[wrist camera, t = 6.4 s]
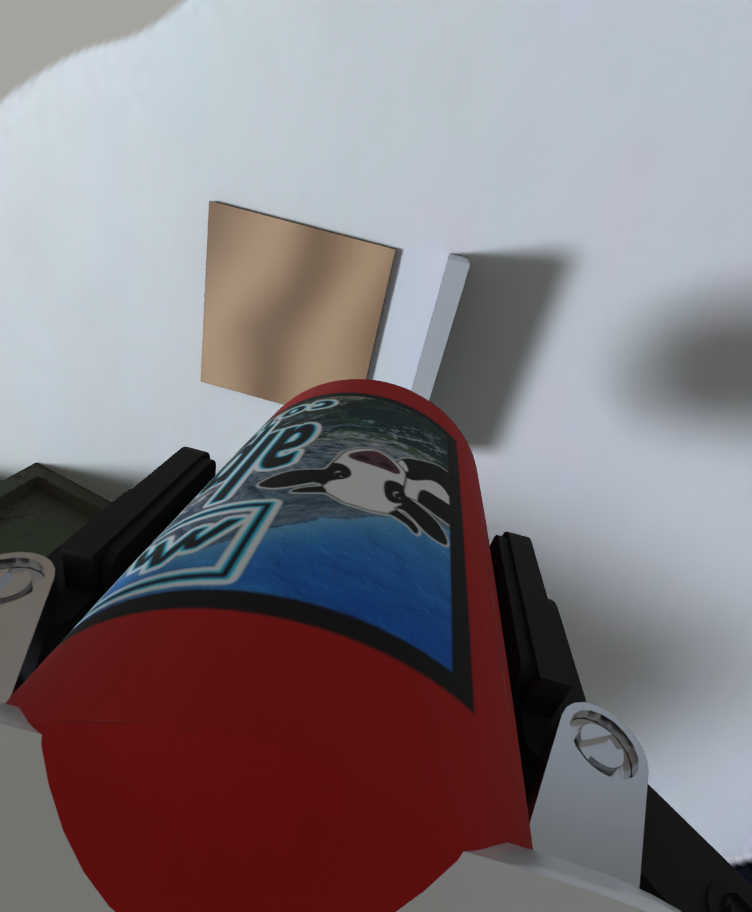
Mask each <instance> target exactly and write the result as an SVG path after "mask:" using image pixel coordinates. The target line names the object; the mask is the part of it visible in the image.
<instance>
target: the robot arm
mask: <svg viewBox="0 0 752 912" xmlns="http://www.w3.org/2000/svg"><path fill="white" fill-rule="evenodd" d="M215 471H216V463H215V461H214V460H211V459H210V455H209V453H208V452H204V451H201V450H197V449H193V448H189V447H183V448H181V449H180V450H179V451H177V452H176V453H175V454H174V455H173V456H171V457H170V458H169V459H168V460H167V461H165V462H164V463H163V464H162V465H161V466H159V467H158V468H157V469H156V470H154V471H153V472H152V473H151V474H150V475H148V476H147V477H146V478H145V479H144V480H142V481H141V482H140V483H139V484H138V485H136V486H135V487H134V488H133V489H130V490H128V491H127V492H125V493H124V494H122V495H121V496H120V497H119V498H118V499H116V500H115V501H114V502H113V503H111V504H110V505H109V506H108V507H107V508H105V509H104V510H103V511H102V512H100V513H99V514H98V515H97V516H96V517H94V518H93V519H92V520H91V521H89V522H88V523H87V524H86V525H85V526H83V527H82V528H81V529H80V530H78V531H77V532H76V533H75V534H74V535H72V536H71V537H70V538H69V539H67V540H66V541H65V542H64V543H63V544H61V545H60V546H59V547H58V548H56V549H55V550H54V551H53V552H52V553H50V554H49V555H48V556H47V557H45V556H43V555H39V554H36V553H31V552H13V553H4V554H0V912H115V911H114V910H113V909H111V908H110V907H109V906H108V904H107V903H106V902H105V900H104V899H103V898H102V896H101V895H100V894H99V892H98V891H97V889H96V888H95V887H94V885H93V884H92V883H91V881H90V880H89V879H88V877H87V876H86V874H85V873H84V872H83V870H82V868H81V866H80V864H79V862H78V860H77V858H76V856H75V854H74V852H73V850H72V848H71V846H70V844H69V842H68V839H67V837H66V835H65V833H64V831H63V829H62V826H61V822H60V819H59V816H58V813H57V810H56V806H55V803H54V800H53V797H52V794H51V791H50V787H49V784H48V779H47V774H46V768H45V763H44V757H43V752H42V747H41V739H42V734H41V733H39V732H38V731H37V730H36V729H35V728H33V727H32V726H31V725H30V723H29V722H28V721H27V719H26V717H25V716H24V714H23V713H22V711H21V710H20V708H19V707H16V706H12V705H8V704H5V703H6V701H7V700H8V699H9V698H10V697H11V696H12V695H13V694H14V693H15V692H16V691H17V689H18V688H19V687H20V686H21V685H22V684H23V683H24V682H25V681H26V680H27V679H28V677H29V676H30V675H31V674H32V673H33V672H34V671H35V670H36V669H37V668H38V667H39V665H40V664H41V663H42V662H43V661H44V660H45V659H46V658H47V657H48V656H49V655H50V653H51V652H52V651H53V650H54V649H55V648H56V647H57V646H58V645H59V644H60V643H61V641H62V640H63V639H64V638H65V637H66V636H67V635H68V634H69V633H70V632H71V630H72V629H73V628H74V627H75V626H76V625H77V624H78V623H79V622H80V621H81V620H82V618H83V617H84V616H85V615H86V614H87V613H88V612H89V611H90V610H91V609H92V608H93V606H94V605H95V604H96V603H97V602H98V601H99V600H100V599H101V598H102V597H103V596H104V594H105V593H106V592H107V591H108V590H109V589H110V588H111V587H112V586H113V585H114V584H115V582H116V581H117V580H118V579H119V578H120V577H121V576H122V575H123V574H124V573H125V571H126V570H127V569H128V568H129V567H130V566H131V565H132V564H133V563H134V562H135V561H136V559H137V558H138V557H139V556H140V555H141V554H142V553H143V552H144V551H145V550H146V549H147V548H148V547H149V546H150V545H151V544H152V542H153V541H154V540H155V539H156V538H157V537H158V536H159V535H160V534H161V533H162V532H163V531H164V530H165V529H166V528H167V527H168V525H169V524H170V523H171V522H172V521H173V520H174V519H175V518H176V517H177V516H178V515H179V514H180V513H181V512H182V511H183V510H184V508H185V507H186V506H187V505H188V504H189V503H190V502H191V501H192V500H193V499H194V498H195V497H196V496H197V495H198V494H199V493H200V492H201V490H202V489H203V488H204V487H205V486H206V485H207V484H208V483H209V482H210V481H211V480H212V479H213V478H214V477H215ZM490 552H491V558H492V565H493V571H494V578H495V584H496V590H497V597H498V604H499V610H500V617H501V624H502V631H503V638H504V645H505V652H506V658H507V665H508V672H509V679H510V686H511V693H512V700H513V706H514V713H515V721H516V728H517V735H518V743H519V750H520V757H521V764H522V772H523V779H524V786H525V794H526V801H527V808H528V816H529V823H530V830H531V837H532V845H533V850H531V849H527V848H524V847H521V846H517V845H514V844H511V843H508V842H507V843H503V844H499V845H495V846H491V847H488V848H485V849H481V850H473V851H464V852H463V853H462V855H461V856H460V858H459V859H458V861H457V862H455V863H454V864H453V865H452V866H451V867H450V868H449V869H448V870H447V871H446V872H445V873H443V874H442V875H441V876H440V877H439V878H438V879H437V880H436V881H435V882H434V883H433V884H431V885H430V886H429V887H428V888H427V889H426V890H425V891H424V892H422V893H421V894H420V895H418V896H417V897H415V898H414V899H413V900H411V901H410V902H409V903H407V904H406V905H405V906H403V907H402V908H400V909H399V910H398V911H396V912H752V885H751V884H749V883H748V882H747V881H746V880H745V879H744V878H743V877H742V876H741V875H740V874H739V873H738V872H737V871H736V870H735V869H734V868H733V867H732V866H731V865H730V864H729V863H728V862H727V861H726V860H725V859H724V858H723V857H722V856H721V855H720V854H719V853H718V852H717V851H716V850H715V849H714V848H713V847H712V846H711V845H710V844H709V843H708V842H707V841H706V840H705V839H704V838H703V837H702V836H700V835H699V834H698V833H697V832H696V831H695V830H694V829H693V828H692V827H691V826H690V825H689V824H688V823H687V822H686V821H685V820H684V819H683V818H682V817H681V816H680V815H679V814H678V813H677V812H676V811H675V810H674V809H673V808H672V807H671V806H670V805H669V804H668V803H667V802H666V801H665V800H664V799H663V798H662V797H661V796H660V795H659V794H658V793H657V792H656V791H655V790H654V789H652V788H651V787H650V786H649V785H648V764H647V759H646V756H645V754H644V751H643V749H642V746H641V745H640V743H639V742H638V740H637V739H636V737H635V736H634V734H633V733H632V732H631V731H630V730H629V728H628V727H627V726H626V725H625V724H624V723H623V722H622V721H621V720H619V719H618V718H617V717H616V716H614V715H613V714H612V713H610V712H609V711H607V710H605V709H603V708H601V707H599V706H597V705H594V704H590V703H586V700H585V696H584V693H583V690H582V686H581V683H580V680H579V677H578V673H577V670H576V667H575V664H574V660H573V657H572V654H571V650H570V647H569V644H568V641H567V637H566V634H565V631H564V628H563V624H562V621H561V618H560V614H559V611H558V608H557V606H556V604H555V602H554V601H552V600H550V599H548V598H547V595H546V591H545V588H544V584H543V581H542V577H541V574H540V570H539V567H538V563H537V560H536V556H535V553H534V549H533V546H532V542H531V540H530V538H529V537H525V536H522V535H518V534H514V533H510V532H505V533H504V534H503V535H502V536H498V535H496V536H495V537H494V539H493V541H492V543H491V545H490Z"/></svg>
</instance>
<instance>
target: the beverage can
mask: <svg viewBox="0 0 752 912" xmlns="http://www.w3.org/2000/svg"><path fill="white" fill-rule="evenodd" d="M5 704H8V705H12V706H16V707H19V708H20V710H21V711H22V713H23V714H24V716H25V717H26V719H27V721H28V722H29V723H30V725H31V726H32V727H33V728H35V729H36V730H37V731H38V732H39V733H41V734H42V739H41V747H42V752H43V757H44V763H45V768H46V774H47V779H48V784H49V787H50V791H51V794H52V797H53V800H54V803H55V806H56V810H57V813H58V816H59V819H60V822H61V826H62V829H63V831H64V833H65V835H66V837H67V839H68V842H69V844H70V846H71V848H72V850H73V852H74V854H75V856H76V858H77V860H78V862H79V864H80V866H81V868H82V870H83V872H84V873H85V874H86V876H87V877H88V879H89V880H90V881H91V883H92V884H93V885H94V887H95V888H96V889H97V891H98V892H99V894H100V895H101V896H102V898H103V899H104V900H105V902H106V903H107V904H108V906H109V907H110V908H111V909H113V910H114V911H115V912H396V911H398V910H399V909H400V908H402V907H403V906H405V905H406V904H407V903H409V902H410V901H411V900H413V899H414V898H415V897H417V896H418V895H420V894H421V893H422V892H424V891H425V890H426V889H427V888H428V887H429V886H430V885H431V884H433V883H434V882H435V881H436V880H437V879H438V878H439V877H440V876H441V875H442V874H443V873H445V872H446V871H447V870H448V869H449V868H450V867H451V866H452V865H453V864H454V863H455V862H457V861H458V859H459V858H460V856H461V855H462V853H463V852H464V851H473V850H481V849H485V848H488V847H491V846H495V845H499V844H503V843H507V842H508V843H511V844H514V845H517V846H521V847H524V848H527V849H531V850H533V845H532V837H531V830H530V823H529V816H528V808H527V801H526V794H525V786H524V779H523V772H522V764H521V757H520V750H519V743H518V735H517V728H516V721H515V713H514V706H513V700H512V693H511V686H510V679H509V672H508V665H507V658H506V652H505V645H504V638H503V631H502V624H501V617H500V610H499V604H498V597H497V590H496V584H495V578H494V571H493V565H492V558H491V552H490V546H489V539H488V533H487V526H486V520H485V514H484V508H483V503H482V497H481V491H480V485H479V480H478V474H477V468H476V464H475V460H474V457H473V455H472V452H471V450H470V447H469V445H468V443H467V441H466V440H465V438H464V436H463V435H462V433H461V432H460V430H459V429H458V428H457V426H456V425H455V424H454V423H453V422H452V420H451V419H450V418H449V417H448V416H447V415H446V414H445V413H444V412H443V411H442V410H440V409H439V408H438V407H437V406H435V405H434V404H433V403H431V402H430V401H428V400H427V399H425V398H424V397H422V396H420V395H418V394H416V393H415V392H412V391H410V390H408V389H406V388H403V387H400V386H397V385H394V384H391V383H387V382H382V381H376V380H368V379H347V380H338V381H333V382H328V383H324V384H321V385H318V386H315V387H313V388H310V389H308V390H306V391H304V392H302V393H300V394H299V395H297V396H295V397H294V398H292V399H291V400H290V401H288V402H287V403H286V404H285V405H284V406H283V407H281V408H280V409H279V410H278V411H277V412H276V413H275V414H274V415H273V416H272V417H271V418H270V419H269V420H268V421H267V423H266V424H265V425H264V426H263V427H262V428H261V429H260V430H259V431H258V432H257V433H256V434H255V435H254V436H253V437H252V438H251V439H250V440H249V441H248V442H247V443H246V444H245V445H244V446H243V447H242V448H241V449H240V450H239V451H238V452H237V453H236V454H235V455H234V456H233V458H232V459H231V460H230V461H229V462H228V463H227V464H226V465H225V466H224V467H223V468H222V469H221V470H220V471H219V472H218V473H217V475H216V476H215V477H214V478H213V479H212V480H211V481H210V482H209V483H208V484H207V485H206V486H205V487H204V488H203V489H202V490H201V492H200V493H199V494H198V495H197V496H196V497H195V498H194V499H193V500H192V501H191V502H190V503H189V504H188V505H187V506H186V507H185V508H184V510H183V511H182V512H181V513H180V514H179V515H178V516H177V517H176V518H175V519H174V520H173V521H172V522H171V523H170V524H169V525H168V527H167V528H166V529H165V530H164V531H163V532H162V533H161V534H160V535H159V536H158V537H157V538H156V539H155V540H154V541H153V542H152V544H151V545H150V546H149V547H148V548H147V549H146V550H145V551H144V552H143V553H142V554H141V555H140V556H139V557H138V558H137V559H136V561H135V562H134V563H133V564H132V565H131V566H130V567H129V568H128V569H127V570H126V571H125V573H124V574H123V575H122V576H121V577H120V578H119V579H118V580H117V581H116V582H115V584H114V585H113V586H112V587H111V588H110V589H109V590H108V591H107V592H106V593H105V594H104V596H103V597H102V598H101V599H100V600H99V601H98V602H97V603H96V604H95V605H94V606H93V608H92V609H91V610H90V611H89V612H88V613H87V614H86V615H85V616H84V617H83V618H82V620H81V621H80V622H79V623H78V624H77V625H76V626H75V627H74V628H73V629H72V630H71V632H70V633H69V634H68V635H67V636H66V637H65V638H64V639H63V640H62V641H61V643H60V644H59V645H58V646H57V647H56V648H55V649H54V650H53V651H52V652H51V653H50V655H49V656H48V657H47V658H46V659H45V660H44V661H43V662H42V663H41V664H40V665H39V667H38V668H37V669H36V670H35V671H34V672H33V673H32V674H31V675H30V676H29V677H28V679H27V680H26V681H25V682H24V683H23V684H22V685H21V686H20V687H19V688H18V689H17V691H16V692H15V693H14V694H13V695H12V696H11V697H10V698H9V699H8V700H7V701H6V703H5Z"/></svg>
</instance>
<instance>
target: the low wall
mask: <svg viewBox="0 0 752 912" xmlns="http://www.w3.org/2000/svg"><path fill="white" fill-rule="evenodd" d="M469 267H470V263H469V261H468V259H467V258H465V257H461V256H457V255H454V254H449V258H448V262H447V265H446V269H445V272H444V276H443V279H442V283H441V287H440V290H439V294H438V297H437V301H436V304H435V308H434V312H433V315H432V319H431V322H430V326H429V329H428V333H427V337H426V340H425V344H424V347H423V351H422V354H421V358H420V362H419V365H418V369H417V372H416V376H415V379H414V383H413V387H412V390H411V391H412V392H415V393H416V394H418V395H420V396H422V397H424V398H425V399H427V400H428V401H429V399H430V396H431V392H432V389H433V386H434V383H435V379H436V376H437V373H438V369H439V366H440V363H441V359H442V356H443V353H444V350H445V346H446V343H447V340H448V336H449V333H450V330H451V326H452V323H453V320H454V316H455V313H456V310H457V307H458V303H459V300H460V297H461V293H462V290H463V287H464V283H465V280H466V277H467V274H468V270H469Z"/></svg>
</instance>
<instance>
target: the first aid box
mask: <svg viewBox="0 0 752 912" xmlns="http://www.w3.org/2000/svg"><path fill="white" fill-rule="evenodd" d="M111 503H112V502H110V501H108V500H106V499H104V498H102V497H100V496H98V495H97V494H95V493H93V492H91V491H89V490H87V489H85V488H83V487H81V486H79V485H78V484H76V483H74V482H72V481H70V480H68V479H66V478H64V477H62V476H60V475H59V474H57V473H55V472H53V471H51V470H49V469H47V468H45V467H43V466H41V465H40V464H38V463H34V464H33V465H31V466H29V467H27V468H25V469H23V470H22V471H20V472H18V473H16V474H14V475H12V476H11V477H9V478H7V479H5V480H3V481H1V482H0V554H4V553H13V552H31V553H36V554H39V555H43V556H45V557H47V556H48V555H49V554H50V553H52V552H53V551H54V550H55V549H56V548H58V547H59V546H60V545H61V544H63V543H64V542H65V541H66V540H67V539H69V538H70V537H71V536H72V535H74V534H75V533H76V532H77V531H78V530H80V529H81V528H82V527H83V526H85V525H86V524H87V523H88V522H89V521H91V520H92V519H93V518H94V517H96V516H97V515H98V514H99V513H100V512H102V511H103V510H104V509H105V508H107V507H108V506H109V505H110V504H111Z"/></svg>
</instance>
